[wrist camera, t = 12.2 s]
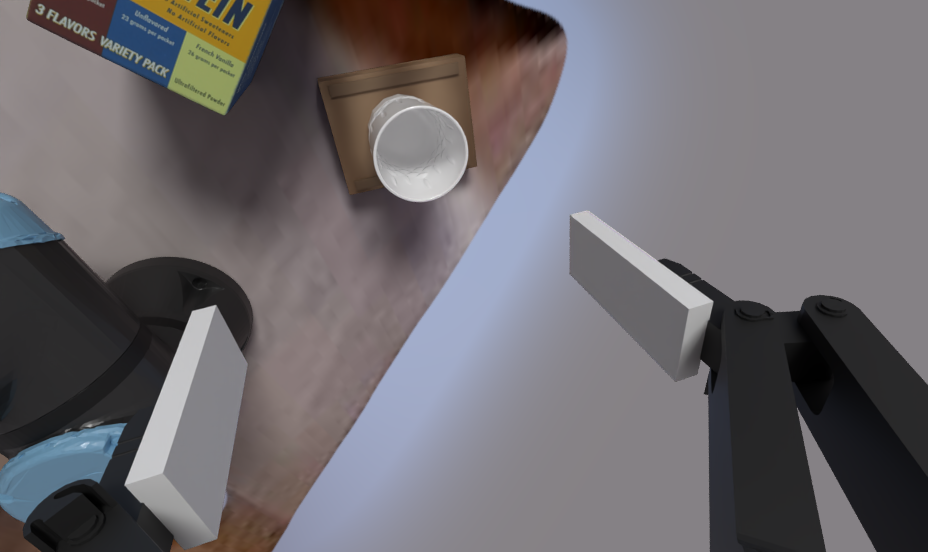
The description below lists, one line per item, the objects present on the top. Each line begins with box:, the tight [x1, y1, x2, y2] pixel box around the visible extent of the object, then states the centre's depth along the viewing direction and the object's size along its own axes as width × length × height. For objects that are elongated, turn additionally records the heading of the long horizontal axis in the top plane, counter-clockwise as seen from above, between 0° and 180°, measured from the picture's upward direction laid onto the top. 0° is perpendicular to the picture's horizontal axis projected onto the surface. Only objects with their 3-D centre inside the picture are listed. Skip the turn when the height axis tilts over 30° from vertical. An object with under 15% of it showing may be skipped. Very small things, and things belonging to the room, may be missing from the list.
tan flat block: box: [318, 54, 477, 195], centre depth 46 cm, size 14×11×3 cm
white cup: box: [368, 94, 468, 202], centre depth 41 cm, size 8×8×10 cm
